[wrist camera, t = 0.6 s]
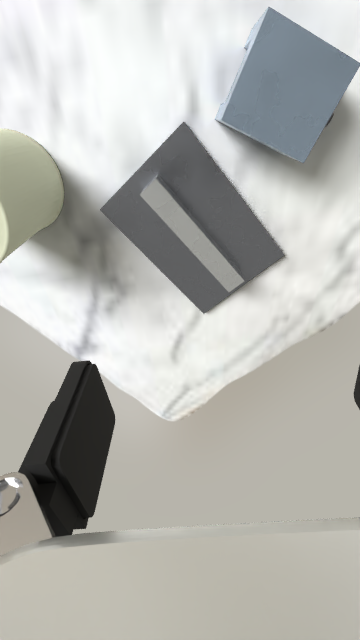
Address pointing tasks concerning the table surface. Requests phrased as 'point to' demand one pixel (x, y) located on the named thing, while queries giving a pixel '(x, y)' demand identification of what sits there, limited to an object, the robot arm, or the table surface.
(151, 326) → the table surface
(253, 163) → the table surface
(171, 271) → the rail
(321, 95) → the blue-grey slotted block
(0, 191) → the can
